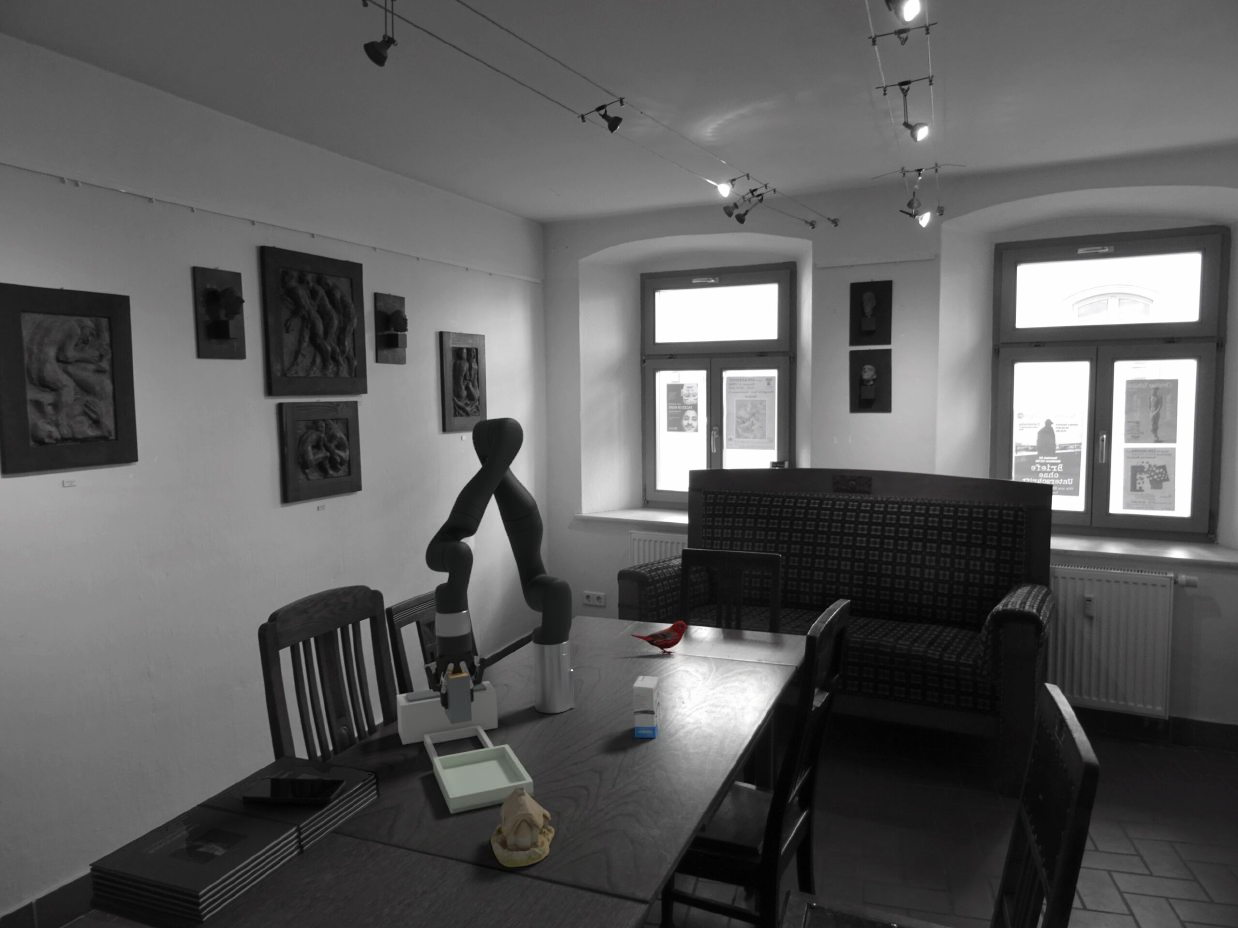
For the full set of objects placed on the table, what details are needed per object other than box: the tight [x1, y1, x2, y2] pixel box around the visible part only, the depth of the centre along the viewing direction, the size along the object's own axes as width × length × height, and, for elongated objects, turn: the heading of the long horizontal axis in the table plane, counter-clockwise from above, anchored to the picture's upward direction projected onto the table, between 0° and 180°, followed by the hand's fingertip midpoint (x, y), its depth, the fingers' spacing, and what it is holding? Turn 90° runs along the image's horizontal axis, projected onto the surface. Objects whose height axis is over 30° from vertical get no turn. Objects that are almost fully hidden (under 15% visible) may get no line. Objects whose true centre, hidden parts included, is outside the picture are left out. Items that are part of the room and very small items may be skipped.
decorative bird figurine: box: [630, 620, 689, 655], centre depth 251 cm, size 3×18×10 cm, turn 89°
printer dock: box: [396, 680, 499, 764], centre depth 188 cm, size 22×24×10 cm
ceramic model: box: [490, 786, 555, 868], centre depth 142 cm, size 14×11×10 cm
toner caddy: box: [445, 673, 472, 724], centre depth 183 cm, size 4×8×10 cm, turn 22°
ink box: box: [632, 675, 661, 739], centre depth 191 cm, size 9×5×12 cm, turn 168°
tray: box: [432, 743, 535, 814], centre depth 167 cm, size 16×20×3 cm
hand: (457, 705), depth 183 cm, fingers closed on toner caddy, 4 cm apart
